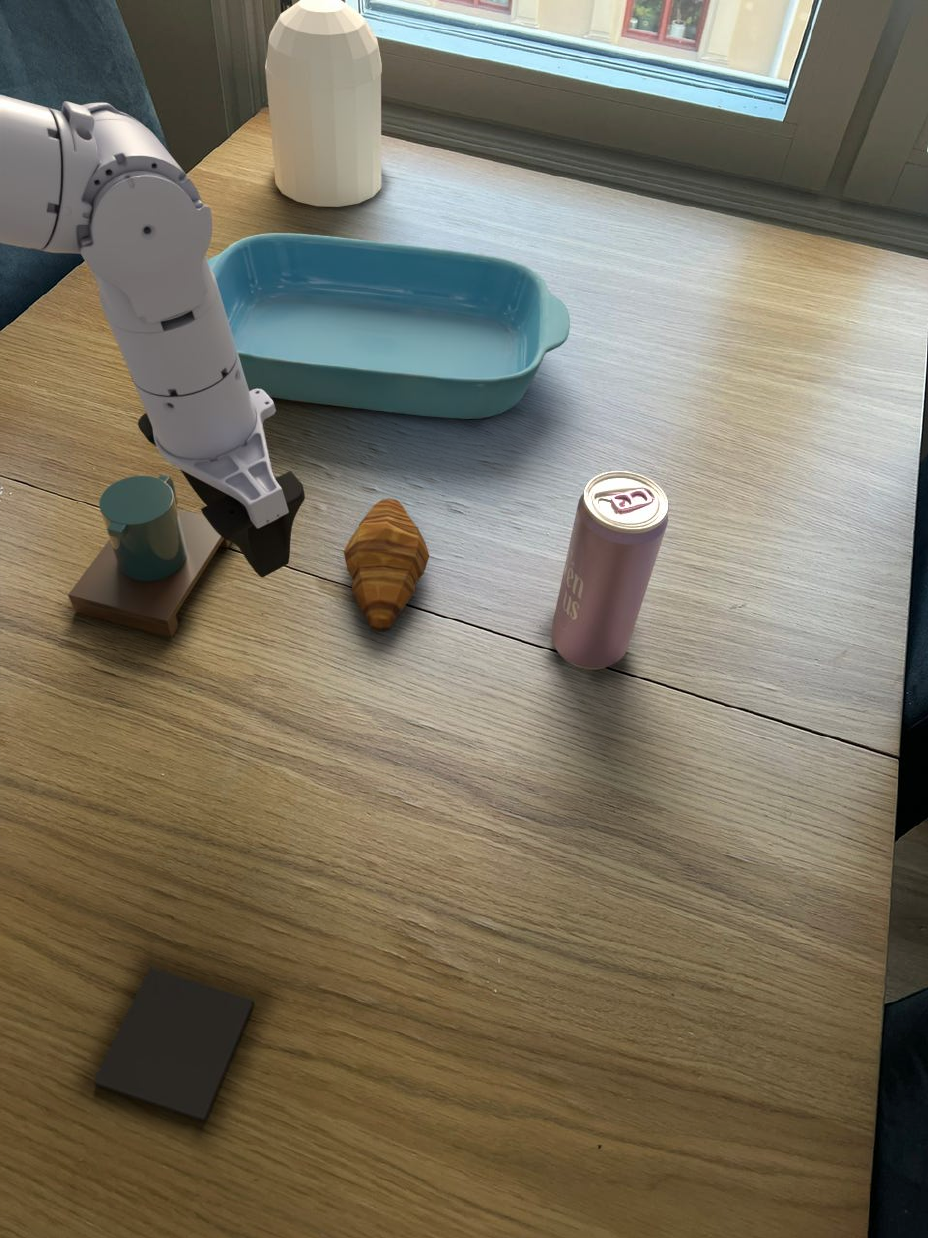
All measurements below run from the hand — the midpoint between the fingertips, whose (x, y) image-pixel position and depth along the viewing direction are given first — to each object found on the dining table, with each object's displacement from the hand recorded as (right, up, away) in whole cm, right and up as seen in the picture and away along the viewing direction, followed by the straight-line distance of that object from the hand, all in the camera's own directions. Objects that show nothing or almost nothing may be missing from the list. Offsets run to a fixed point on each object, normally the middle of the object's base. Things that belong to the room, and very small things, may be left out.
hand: (245, 530), depth 61 cm
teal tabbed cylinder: (-10, -1, +11) cm, 15 cm away
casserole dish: (+6, +20, +33) cm, 39 cm away
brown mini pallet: (-10, -2, +13) cm, 16 cm away
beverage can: (+24, -8, +11) cm, 27 cm away
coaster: (-2, -29, -9) cm, 31 cm away
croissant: (+8, -2, +15) cm, 17 cm away
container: (-3, +49, +57) cm, 75 cm away
